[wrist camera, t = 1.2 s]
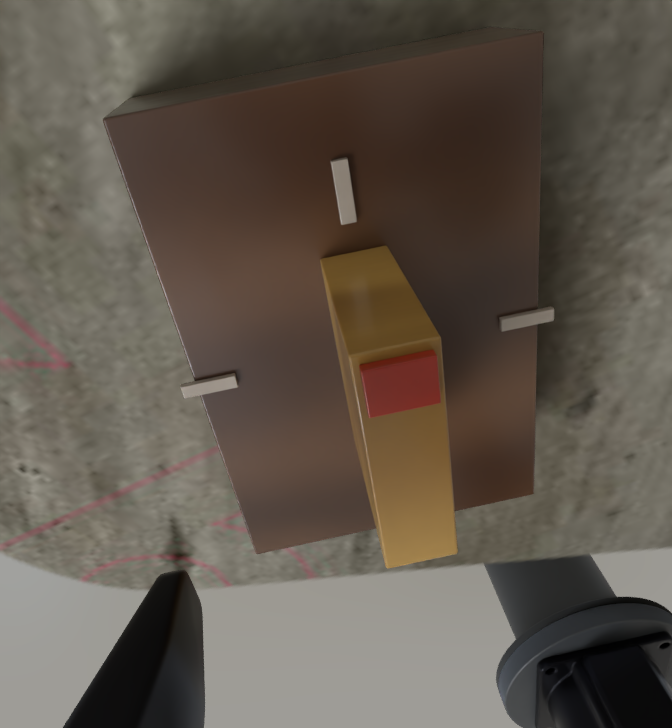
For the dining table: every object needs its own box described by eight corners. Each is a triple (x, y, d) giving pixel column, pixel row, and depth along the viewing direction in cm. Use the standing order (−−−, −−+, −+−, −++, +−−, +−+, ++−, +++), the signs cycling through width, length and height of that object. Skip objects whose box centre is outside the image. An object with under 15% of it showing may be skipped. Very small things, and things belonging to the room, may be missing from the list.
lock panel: (509, 433, 21) (547, 495, 19) (245, 491, 21) (245, 562, 18) (505, 23, 14) (565, 27, 12) (113, 101, 14) (81, 123, 11)
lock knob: (409, 428, 17) (462, 562, 13) (354, 439, 17) (388, 579, 13) (387, 244, 14) (445, 343, 10) (319, 258, 14) (350, 363, 10)
